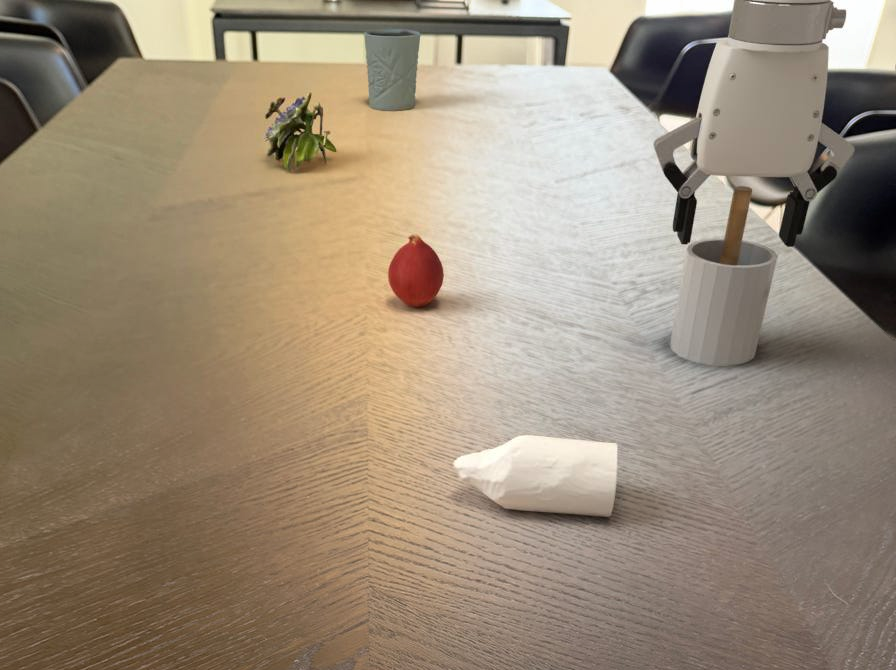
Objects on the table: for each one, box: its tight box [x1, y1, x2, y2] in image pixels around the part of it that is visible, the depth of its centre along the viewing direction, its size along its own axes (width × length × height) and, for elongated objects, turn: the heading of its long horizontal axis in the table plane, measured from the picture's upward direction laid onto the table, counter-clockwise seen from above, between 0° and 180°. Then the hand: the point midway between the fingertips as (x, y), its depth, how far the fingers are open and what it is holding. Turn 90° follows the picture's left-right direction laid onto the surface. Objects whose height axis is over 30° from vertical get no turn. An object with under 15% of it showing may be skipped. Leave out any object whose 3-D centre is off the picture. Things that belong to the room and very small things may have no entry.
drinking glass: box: [363, 28, 421, 112], centre depth 185 cm, size 10×10×12 cm
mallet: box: [719, 185, 753, 265], centre depth 95 cm, size 4×4×15 cm
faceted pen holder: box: [669, 237, 779, 367], centre depth 97 cm, size 8×8×10 cm
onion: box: [387, 233, 445, 308], centre depth 106 cm, size 6×6×8 cm
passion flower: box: [264, 91, 337, 173], centre depth 154 cm, size 11×11×12 cm
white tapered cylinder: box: [453, 434, 619, 518], centre depth 75 cm, size 6×12×6 cm, turn 83°
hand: (734, 240), depth 93 cm, fingers open, 9 cm apart
